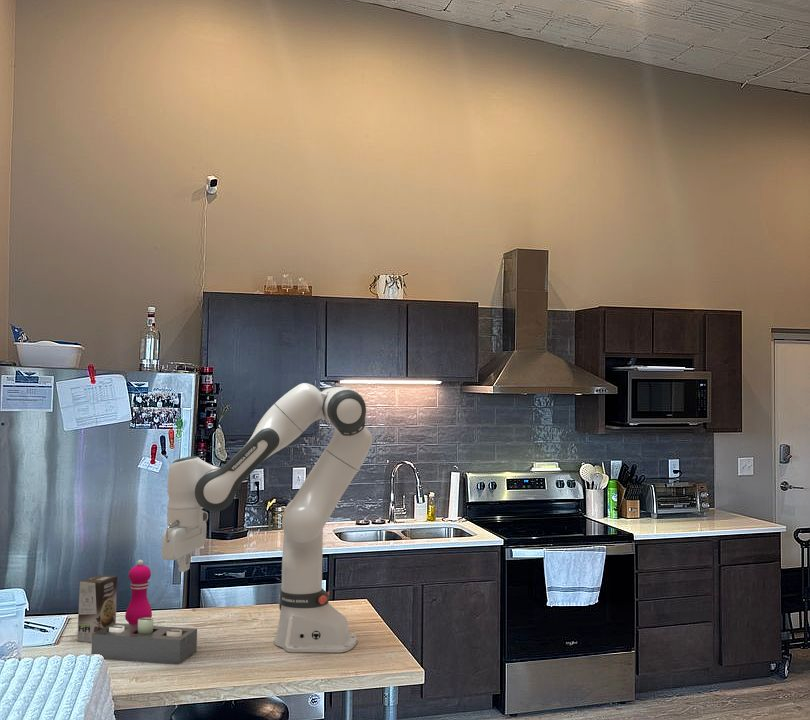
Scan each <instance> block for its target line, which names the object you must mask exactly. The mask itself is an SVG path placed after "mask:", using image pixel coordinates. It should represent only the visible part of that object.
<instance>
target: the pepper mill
mask: <svg viewBox="0 0 810 720" xmlns="http://www.w3.org/2000/svg"><path fill="white" fill-rule="evenodd" d="M151 576H152V571H151V569H150V567H149V566H147V565H144V560H142V559H139V560H137V561H136V565H134V566H133V567H131V569H130V570H129V572H128V579H129V580H130V582H131V583H130V587H129V588H130V589H131V597H130V602H129V604H128V605H127V608H126V611H125V615H124V618H125V620H126V622H128V623H127V624H135V625H138V619H140V618H153V617H152V616H153V613H152V612H153V611H152V607H151V605H150V602H149V600H148V588H149V585H150V582H149V580H150V578H151Z"/></svg>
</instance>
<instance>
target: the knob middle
mask: <svg viewBox="0 0 810 720" xmlns="http://www.w3.org/2000/svg"><path fill="white" fill-rule="evenodd" d="M153 626H154V618H153V617H151V618H140V619H138V634H146V635H150V634H152V633H153Z"/></svg>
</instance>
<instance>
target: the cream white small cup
mask: <svg viewBox="0 0 810 720" xmlns="http://www.w3.org/2000/svg"><path fill="white" fill-rule="evenodd" d="M181 635H182V630H180V629H172V630H168V631H167V636H174V637H180V636H181Z"/></svg>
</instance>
